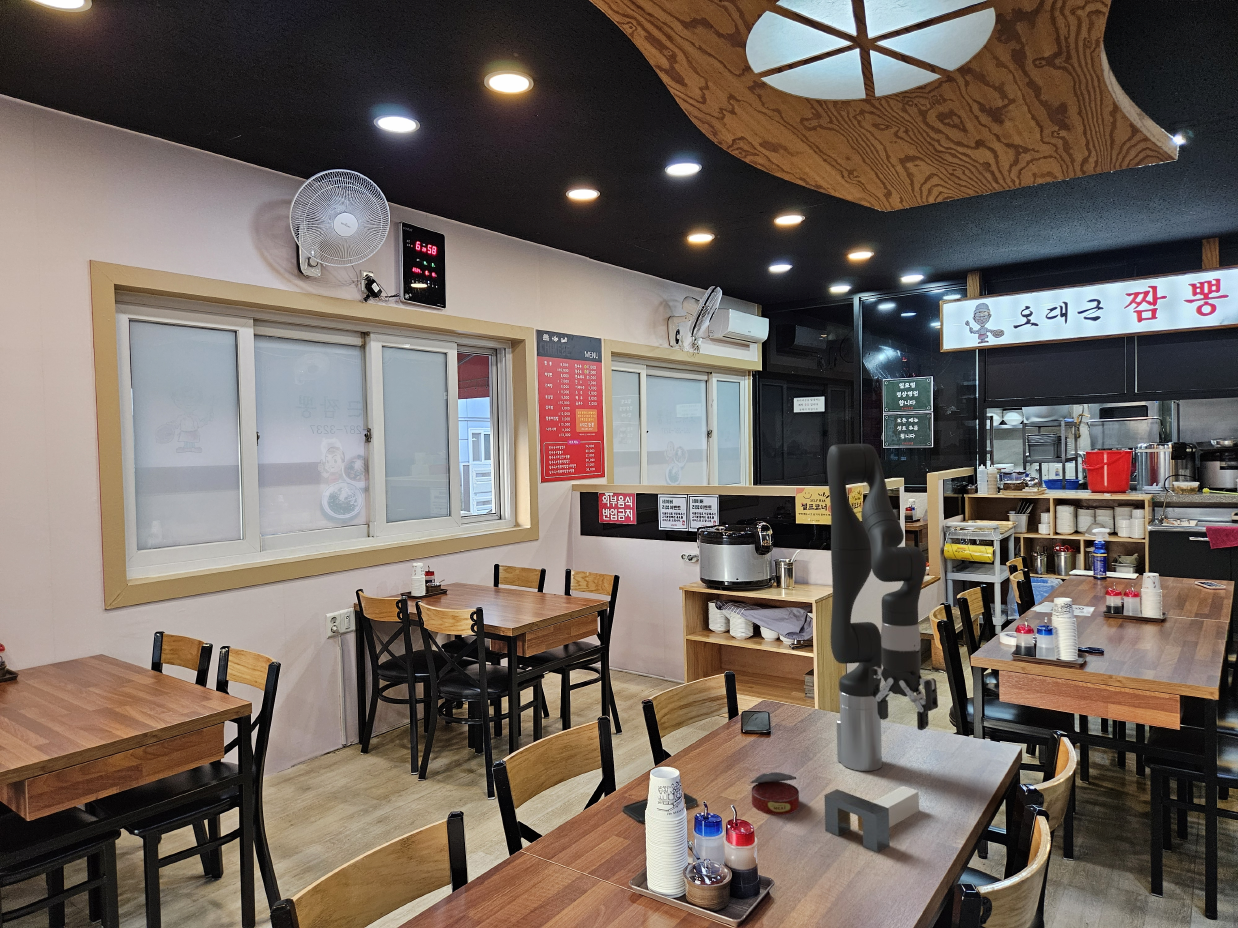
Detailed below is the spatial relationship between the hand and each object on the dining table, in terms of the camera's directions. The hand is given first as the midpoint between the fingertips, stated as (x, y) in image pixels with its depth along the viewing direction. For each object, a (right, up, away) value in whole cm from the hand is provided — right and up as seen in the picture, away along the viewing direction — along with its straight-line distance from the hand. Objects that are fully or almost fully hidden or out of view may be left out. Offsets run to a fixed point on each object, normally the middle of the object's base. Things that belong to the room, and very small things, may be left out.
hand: (902, 723), depth 161 cm
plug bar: (-4, -18, -3) cm, 19 cm away
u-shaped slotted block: (-12, -19, -10) cm, 24 cm away
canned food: (-25, -19, +5) cm, 32 cm away
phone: (-49, -20, +5) cm, 53 cm away
